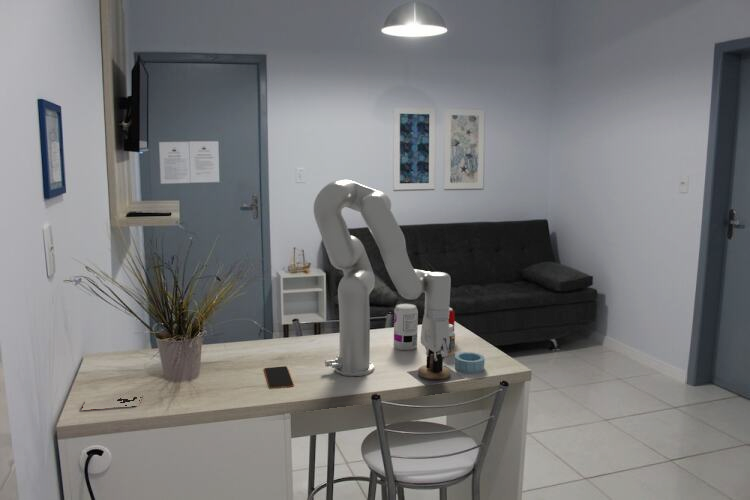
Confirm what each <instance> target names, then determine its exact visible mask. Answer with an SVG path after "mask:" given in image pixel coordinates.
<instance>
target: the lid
mask: <svg viewBox="0 0 750 500" xmlns="http://www.w3.org/2000/svg"><path fill="white" fill-rule="evenodd" d="M433 360H434V354H430V369H427V368H426V365H427V364H426V365H422V366H420V367H419V368H418V369H417V370H418V374H419V375H420V376H421V377H423V378H426V379H431V380H442V379H446V378H449V377H450V370H449V369H448V368H449V367H448V368H446V367H443V366H444V365H443V366H442V372H437V373H433V372H432V370H433Z"/></svg>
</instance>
